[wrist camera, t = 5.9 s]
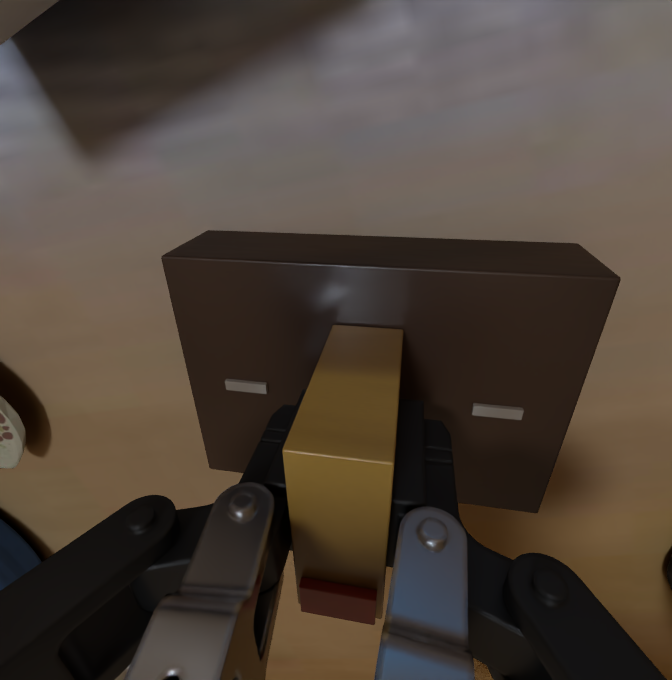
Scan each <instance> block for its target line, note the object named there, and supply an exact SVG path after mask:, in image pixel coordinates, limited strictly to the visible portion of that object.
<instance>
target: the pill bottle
mask: <svg viewBox="0 0 672 680" xmlns="http://www.w3.org/2000/svg"><path fill="white" fill-rule="evenodd" d="M667 579H668V582H669V585H670V587H671V589H672V555H671V558H670V562H669V564H668V567H667Z"/></svg>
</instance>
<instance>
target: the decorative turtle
mask: <svg viewBox="0 0 672 680" xmlns="http://www.w3.org/2000/svg"><path fill="white" fill-rule="evenodd" d="M25 444H26V433H25V428H24V426H23V424H22V421H21V419H20V417H19V415H18V413H17V412H16V411H15V410H14V409H13V408H12V407H11V405H10V404H9V403H8V402H7V401H6V400H5V399H4V398H3V397H2V396H0V468H15V467H16V466H17V464H18V463H19V461H20V459H21V457H22V454H23V452H24V448H25Z"/></svg>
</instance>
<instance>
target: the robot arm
mask: <svg viewBox="0 0 672 680" xmlns="http://www.w3.org/2000/svg"><path fill="white" fill-rule="evenodd" d="M306 390H307V389H303V390H302V392H301V395H300V397H299V400H298V402H297V404H296V405H286V404H284V405H283V406H282V407H281V408H279V409H278V410H277V411H276V412H275V413H274V414H272V416H271V418H270V420H269V422H268V424H267V426H266V430H265V431H264V432H263V435H262V437H261V439H260V441H259V443H258V445H257V447H256V449H255V451H254V453H253V455H252V457H251V459H250V461H249V463H248V465H247V467H246V470H245V472H244V474H243V476H242V478H241V480H240V482H239V483H238V484H236V485H234V486H232V487H230V488H228V489H226V490H225V491H224V492H223V493H222V494H221V495H220V496H219V497H218V498H217V499H216V501H215V503H213V504H210V505H206V506H200V507H194V508H187V509H180V510H176V509H175V506H174V504H173V502H172V501H171V500H170V499H168V498H167V497H164V496H160V495H149V496H144V497H141V498H138V499H136V500H134V501H132V502H130V503H128V504H127V505H125V506H124V507H122V508H121V509H119V510H118V511H116V512H115V513H113V514H112V515H110V516H109V517H108V518H106V519H105V520H103V521H102V522H100V523H99V524H97V525H96V526H94V527H93V528H91V529H90V530H89V531H87V532H86V533H84V534H83V535H81V536H80V537H78V538H77V539H75V540H74V541H72V542H71V543H70V544H68V545H67V546H65V547H64V548H62V549H61V550H59V551H58V552H56V553H55V554H53V555H52V556H50V557H49V558H48V559H46V560H45V561H43V562H42V563H40V564H39V565H37V566H36V567H34V568H33V569H31V570H30V571H29V572H27V573H26V574H24V575H23V576H21V577H20V578H18V579H17V580H15V581H14V582H12V583H11V584H9V585H8V586H7V587H5V588H4V589H2V590H1V591H0V680H115V679H116V678H117V677H118V676H119V675H120V674H121V673H122V672H123V671H124V670H125V669H126V668H127V667H128V666H129V665H130V666H129V669H128V671H127V673H126V675H125V678H124V680H265V677H266V667H267V661H268V656H269V651H270V645H271V640H272V635H273V630H274V625H275V620H276V615H277V610H278V605H279V599H280V594H281V589H282V584H283V578H284V572H283V570H284V566H285V563H286V560H287V556H288V553H289V550H291V551H293V547H292V537H291V528H290V519H289V509H288V500H287V491H286V481H285V472H284V462H283V453H282V449H283V447H284V444H285V442H286V439H287V437H288V434H289V432H290V429H291V427H292V425H293V422H294V420H295V417H296V415H297V412H298V410H299V407H300V405H301V402H302V400H303V397H304V395H305V393H306ZM386 566H388V567H393V571H392V578H391V584H390V591H389V597H388V604H387V610H386V616H385V622H384V625H383V629H382V635H381V641H380V647H379V653H378V659H377V666H376V672H375V679H374V680H475V674H474V660H473V658H475V659H477V660H479V661H480V662H482V663H484V664H485V665H487V667H488V669H489V672H490V674H491V675H492V677H493V679H494V680H667V679H666V678H665V677H664V676H663V675H662V674H661V672H660V671H659V670H658V669H657V668H656V667H655V665H654V664H653V663H652V662H651V661H650V660H649V658H648V657H647V656H646V655H645V654H644V653H643V651H642V650H641V649H640V648H639V647H638V646H637V644H636V643H635V642H634V641H633V640H632V639H631V637H630V636H629V635H628V634H627V633H626V632H625V630H624V629H623V628H622V627H621V626H620V625H619V624H618V622H617V621H616V620H615V619H614V618H613V617H612V615H611V614H610V613H609V612H608V611H607V610H606V608H605V607H604V606H603V605H602V604H601V603H600V601H599V600H598V599H597V598H596V597H595V596H594V594H593V593H592V592H591V591H590V590H589V589H588V587H587V586H586V585H585V584H584V583H583V582H582V580H581V579H580V578H579V577H578V576H577V575H576V574H575V573H574V572H573V571H572V570H571V569H570V568H569V567H568V566H566V565H565V564H563V563H562V562H560V561H559V560H557V559H555V558H553V557H550V556H548V555H544V554H540V553H526V554H522V555H520V556H518V557H517V558H516V559H514V560H512V559H510V558H508V557H505V556H503V555H501V554H499V553H497V552H494V551H492V550H490V549H488V548H486V547H484V546H483V545H481V544H480V543H478V542H477V541H476V540H475V539H474V538H473V537H472V536H471V535H470V534H469V533H468V532H467V531H466V529H465V528H464V526H463V524H462V522H461V520H460V517H459V512H458V502H457V492H456V482H455V473H454V465H453V453H452V443H451V434H450V433H449V431H448V430H447V428H446V427H445V425H444V424H443V422H442V421H439V420H430V419H424V401H421V400H411V399H400V398H399V405H398V419H397V434H396V449H395V463H394V476H393V488H392V501H391V513H390V525H389V538H388V550H387V563H386Z"/></svg>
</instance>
